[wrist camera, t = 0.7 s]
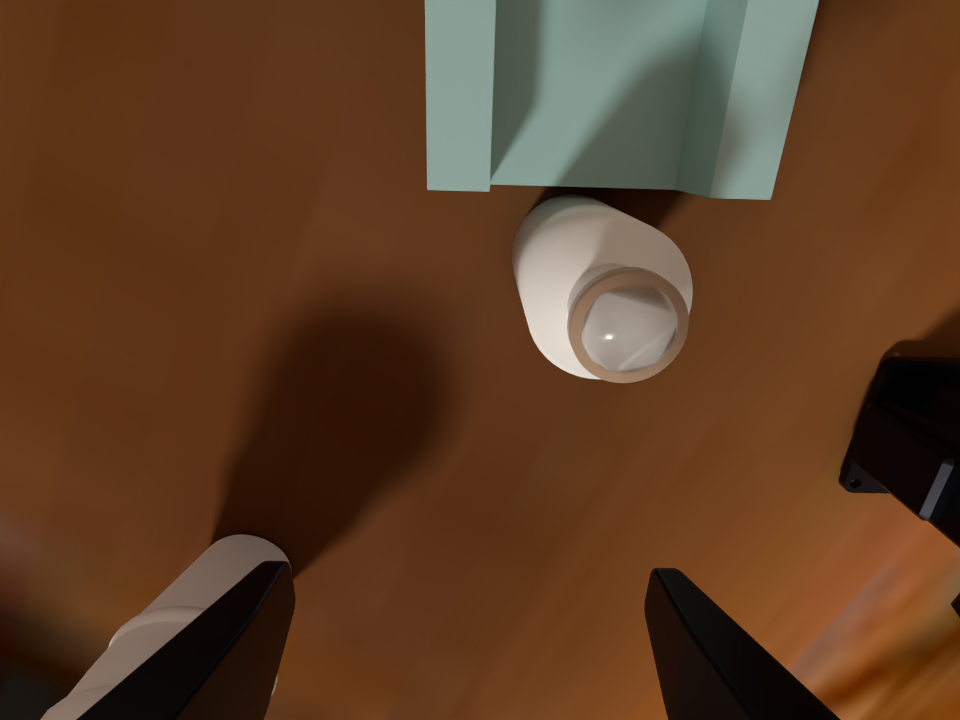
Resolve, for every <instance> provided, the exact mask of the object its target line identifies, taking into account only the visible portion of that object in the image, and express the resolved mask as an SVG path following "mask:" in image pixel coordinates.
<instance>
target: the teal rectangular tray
mask: <svg viewBox="0 0 960 720" xmlns="http://www.w3.org/2000/svg"><path fill="white" fill-rule="evenodd" d="M818 2H819V0H425V44H426V124H427V190H450V191H485V192H490V184H496V185H531V186H565V187H600V188H634V189H669V190H678V191H683V192H687V193H691V194H695V195H699V196H703V197H707V198H727V199H762V200H771V196H772V192H773V188H774V184H775V180H776V176H777V172H778V167H779V163H780V159H781V155H782V151H783V147H784V143H785V139H786V134H787V130H788V126H789V122H790V118H791V114H792V110H793V106H794V101H795V97H796V93H797V89H798V85H799V81H800V77H801V73H802V68H803V64H804V60H805V56H806V52H807V48H808V44H809V40H810V35H811V31H812V27H813V23H814V19H815V15H816V11H817V7H818Z"/></svg>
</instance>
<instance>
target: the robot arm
mask: <svg viewBox="0 0 960 720" xmlns="http://www.w3.org/2000/svg"><path fill="white" fill-rule="evenodd" d="M897 367H898V369H897V370H896V371H895V372H894V373H893V371H894V369H895V368H897ZM854 479H855V480H854ZM853 480H854V481H853ZM839 483H840V485H841V486H842V487H843V488H844V489H845V490H847V491H848V492H852V493H890V494H891V495H893V496H894V497H895V498H896V499H897V500H898V501H900V502H901V503H902V504H903V505H904V506H905V507H907V508H908V509H909V510H910V511H911V512H912V513H914V514H915V515H916V516H917V517H918V518H919V519H921V520H924V521H928V522H929V523H931V524H932V525H933V526H934V527H935V528H936V529H938V530H939V531H940V532H941V533H942V534H944V535H945V536H946V537H947V538H948V539H949V540H951V541H952V542H953V543H954V544H955V545H957V546H958V547H959V548H960V358H921V357H892V358H889V359H887V360H886V361H884V362H883V363H882V365H881V366H880V368H879V371H878V374H877V377H876V379H875V382H874V385H873V387H872V390H871V393H870V396H869V398H868V401H867V404H866V406H865V409H864V412H863V414H862V417H861V420H860V423H859V425H858V428H857V431H856V433H855V436H854V439H853V442H852V444H851V447H850V450H849V452H848V455H847V458H846V460H845V463H844V466H843V469H842V471H841V474H840V477H839ZM951 605H952V607H953V608H954V610H955V611H956V613H957V614H958V616H959V617H960V593H959V594H958V595H957V597H956V598H955V599H954V600H953V602H952V603H951ZM294 608H295V591H294V585H293V579H292V573H291V567H290V564H289V563H288V562H287V561H264V562H262V563H260V564H259V565H258V566H256V567H255V568H254V569H253V570H252V571H251V572H249V573H248V574H247V575H246V576H245V577H244V578H242V579H241V580H240V581H239V582H238V583H236V584H235V585H234V586H233V587H232V588H231V589H229V590H228V591H227V592H226V593H225V594H224V595H222V596H221V597H220V598H219V599H218V600H216V601H215V602H214V603H213V604H212V605H211V606H209V607H208V608H207V609H206V610H205V611H203V612H202V613H201V614H200V615H199V616H198V617H196V618H195V619H194V620H193V621H192V622H191V623H189V624H188V625H187V626H186V627H185V628H183V629H182V630H181V631H180V632H179V633H178V634H176V635H175V636H174V637H173V638H172V639H170V640H169V641H168V642H167V643H166V644H165V645H163V646H162V647H161V648H160V649H159V650H158V651H156V652H155V653H154V654H153V655H152V656H150V657H149V658H148V659H147V660H146V661H145V662H143V663H142V664H141V665H140V666H139V667H137V668H136V669H135V670H134V671H133V672H132V673H130V674H129V675H128V676H127V677H126V678H125V679H123V680H122V681H121V682H120V683H119V684H117V685H116V686H115V687H114V688H113V689H112V690H110V691H109V692H108V693H107V694H106V695H104V696H103V697H102V698H101V699H100V700H99V701H97V702H96V703H95V704H94V705H93V706H92V707H90V708H89V709H88V710H87V711H86V712H84V713H83V714H82V715H81V716H80V717H79V718H77V719H76V720H264V717H265V714H266V711H267V708H268V705H269V702H270V698H271V695H272V691H273V688H274V684H275V680H276V677H277V673H278V669H279V665H280V662H281V658H282V654H283V650H284V647H285V643H286V639H287V635H288V632H289V628H290V624H291V620H292V617H293V613H294ZM645 618H646V622H647V627H648V632H649V636H650V641H651V645H652V650H653V654H654V659H655V664H656V668H657V673H658V677H659V682H660V687H661V691H662V696H663V700H664V704H665V708H666V713H667V716H668V719H669V720H840V719H839V718H838V717H837V716H836V715H835V714H834V713H833V712H832V711H831V710H830V709H829V708H827V707H826V706H825V705H824V704H823V703H822V702H821V701H820V700H819V699H818V698H817V697H816V696H815V695H813V694H812V693H811V692H810V691H809V690H808V689H807V688H806V687H805V686H804V685H803V684H802V683H801V682H799V681H798V680H797V679H796V678H795V677H794V676H793V675H792V674H791V673H790V672H789V671H788V670H787V669H785V668H784V667H783V666H782V665H781V664H780V663H779V662H778V661H777V660H776V659H775V658H774V657H773V656H771V655H770V654H769V653H768V652H767V651H766V650H765V649H764V648H763V647H762V646H761V645H760V644H759V643H757V642H756V641H755V640H754V639H753V638H752V637H751V636H750V635H749V634H748V633H747V632H746V631H745V630H743V629H742V628H741V627H740V626H739V625H738V624H737V623H736V622H735V621H734V620H733V619H732V618H731V617H729V616H728V615H727V614H726V613H725V612H724V611H723V610H722V609H721V608H720V607H719V606H718V605H717V604H715V603H714V602H713V601H712V600H711V599H710V598H709V597H708V596H707V595H706V594H705V593H704V592H703V591H701V590H700V589H699V588H698V587H697V586H696V585H695V584H694V583H693V582H692V581H691V580H690V579H689V578H688V577H686V576H685V575H684V574H683V573H682V572H681V571H680V570H678V569H675V568H655V569H653V570H652V572H651V575H650V579H649V584H648V589H647V594H646V599H645Z"/></svg>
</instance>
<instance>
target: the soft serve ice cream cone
mask: <svg viewBox="0 0 960 720" xmlns="http://www.w3.org/2000/svg"><path fill="white" fill-rule="evenodd" d="M264 561H287V562H288V563H289V560H288V558H287V557H286V555H285V554H284V553H283V552H282V550H281V549H279V548H278V547H277V546H276V545H275V544H273V543H271V542H269V541H268V540H265V539H263V538H260V537H257V536H252V535H243V534H241V535H232V536H228V537H225V538H222V539H220V540H218V541H216V542H215V543H214V544H212V545H211V546H210V547H209V548H208V549H207V550H206V551H205V552H204V553H203V554H202V555H201V556H200V557H199V558H198V559H197V560H196V561H195V562H194V563H193V564H192V565H191V566H189V567H188V568H187V569H186V570H185V571H184V572H183V573H182V574H181V575H180V576H179V577H178V578H177V579H176V580H175V581H174V582H173V583H172V584H171V585H170V586H169V587H168V588H167V589H166V590H165V591H164V592H163V593H162V594H161V595H159V596H158V597H157V598H156V599H155V600H154V601H153V602H152V603H151V604H150V605H149V606H148V607H147V608H146V609H145V610H144V611H143V612H142V613H141V614H140V615H138V616H135V617H134V618H132V619H131V620H130V621H128V622H127V623H126V624H124V625H123V626H122V627H121V628H120V629H119V630H118V631H117V633H116V634H115V635H114V636H113V638H112V640H111V642H110V644H109V647H108V649H107V650H106V651H105V652H104V653H103V654H102V656H101V657H100V658H99V659H98V660H97V661H96V662H95V663H94V665H93V666H92V667H91V668H90V669H89V670H88V671H87V673H86V674H85V675H84V676H83V678H82V679H81V680H80V681H79V683H78V684H77V685H76V686H75V688H74V689H73V690H72V691H71V693H70V694H69V695H68V696H67V697H66V698H64V699H63V700H61V701H60V702H59V703H57V704H56V705H54V706H53V707H51V708H50V709H49V710H48V711H47V712H46V713H45V715H44V716H43V717H42V718H41V720H76V719H77V718H79V717H80V716H81V715H82V714H83V713H84V712H86V711H87V710H88V709H89V708H90V707H92V706H93V705H94V704H95V703H96V702H97V701H99V700H100V699H101V698H102V697H103V696H104V695H106V694H107V693H108V692H109V691H110V690H112V689H113V688H114V687H115V686H116V685H117V684H119V683H120V682H121V681H122V680H123V679H125V678H126V677H127V676H128V675H129V674H130V673H132V672H133V671H134V670H135V669H136V668H137V667H139V666H140V665H141V664H142V663H143V662H145V661H146V660H147V659H148V658H149V657H150V656H152V655H153V654H154V653H155V652H156V651H158V650H159V649H160V648H161V647H162V646H163V645H165V644H166V643H167V642H168V641H169V640H170V639H172V638H173V637H174V636H175V635H176V634H178V633H179V632H180V631H181V630H182V629H183V628H185V627H186V626H187V625H188V624H189V623H191V622H192V621H193V620H194V619H195V618H196V617H198V616H199V615H200V614H201V613H202V612H203V611H205V610H206V609H207V608H208V607H209V606H211V605H212V604H213V603H214V602H215V601H216V600H218V599H219V598H220V597H221V596H222V595H224V594H225V593H226V592H227V591H228V590H229V589H231V588H232V587H233V586H234V585H235V584H236V583H238V582H239V581H240V580H241V579H242V578H244V577H245V576H246V575H247V574H248V573H249V572H251V571H252V570H253V569H254V568H255V567H256V566H258V565H259V564H260V563H262V562H264ZM289 564H290V563H289ZM290 567H291V566H290ZM291 573H292V570H291ZM276 683H277V677H276V680H275V684H274V688H273V691H272V695H273V693H274V691H275V687H276ZM272 695H271V696H272Z"/></svg>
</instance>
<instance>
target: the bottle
mask: <svg viewBox="0 0 960 720" xmlns="http://www.w3.org/2000/svg"><path fill="white" fill-rule="evenodd" d="M511 262H512V268H513V272H514V275H515V279H516V283H517V286H518V290H519V294H520V297H521V301H522V305H523V308H524V312H525V315H526V319H527V323H528V326H529V330H530V333H531V335H532V337H533V340H534V342H535V343H536V345H537V346H538V348H539V350H540V351H541V352H542V353H543V354H544V356H545V357H546V358H547V359H549V360H550V361H551V362H552V363H553V364H555V365H556V366H557V367H559V368H560V369H562V370H564V371H566V372H568V373H571V374H574V375H576V376H580V377H584V378H590V379H603V380H606V381H610V382H615V383H631V382H637V381H640V380H644V379H646V378H649V377H651V376H653V375H655V374H657V373H659V372H660V371H661V370H663V369H664V368H665V367H667V366H668V365H669V364H670V363H671V362H672V361H673V360H674V359H675V357H676V356H677V355H678V353H679V352H680V350H681V348H682V347H683V345H684V342H685V340H686V337H687V333H688V327H689V313H690V309H691V304H692V296H693V292H692V279H691V274H690V270H689V267H688V264H687V262H686V260H685V258H684V256H683V254H682V253H681V251H680V250H679V248H678V247H677V246H676V245H675V244H674V242H673V241H672V240H671V239H670V238H668V237H667V236H666V235H665V234H663V233H662V232H660V231H659V230H657V229H655V228H654V227H652V226H650V225H648V224H646V223H643V222H641V221H639V220H637V219H635V218H633V217H631V216H629V215H627V214H625V213H623V212H621V211H619V210H617V209H615V208H613V207H611V206H609V205H607V204H605V203H602V202H600V201H598V200H596V199H594V198H591V197H588V196H584V195H576V194H570V195H562V196H557V197H554V198H551V199H549V200H547V201H545V202H543V203H541V204H540V205H538V206H537V207H535V208H534V209H533V210H532V211H531V212H530V213H529V214H528V215H527V216H526V217H525V218H524V220H523V221H522V222H521V224H520V226H519V228H518V229H517V232H516V234H515V237H514V240H513V244H512V251H511Z"/></svg>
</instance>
